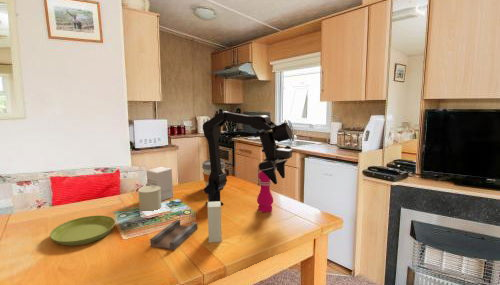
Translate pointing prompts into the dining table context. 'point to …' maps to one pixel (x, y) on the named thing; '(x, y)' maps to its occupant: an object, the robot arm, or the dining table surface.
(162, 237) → the floor track
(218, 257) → the dining table surface
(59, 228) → the saucer
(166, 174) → the supplement box
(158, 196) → the can
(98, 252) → the dining table surface
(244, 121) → the robot arm
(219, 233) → the white rectangular block
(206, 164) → the reusable coffee cup
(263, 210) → the pepper mill
